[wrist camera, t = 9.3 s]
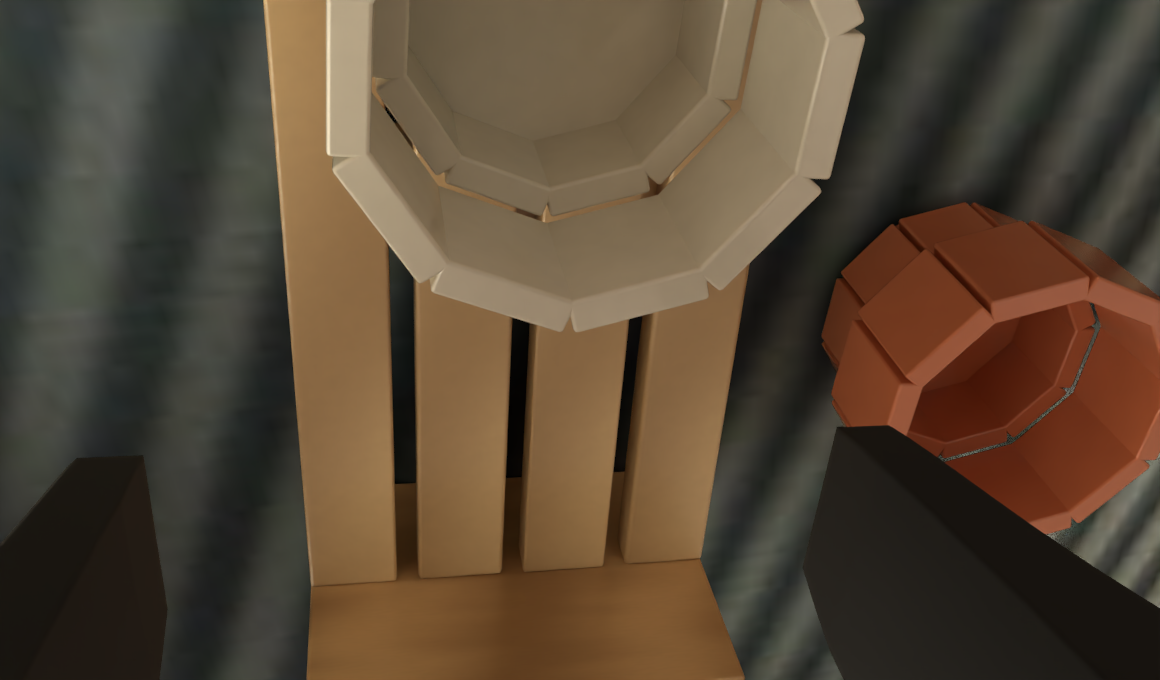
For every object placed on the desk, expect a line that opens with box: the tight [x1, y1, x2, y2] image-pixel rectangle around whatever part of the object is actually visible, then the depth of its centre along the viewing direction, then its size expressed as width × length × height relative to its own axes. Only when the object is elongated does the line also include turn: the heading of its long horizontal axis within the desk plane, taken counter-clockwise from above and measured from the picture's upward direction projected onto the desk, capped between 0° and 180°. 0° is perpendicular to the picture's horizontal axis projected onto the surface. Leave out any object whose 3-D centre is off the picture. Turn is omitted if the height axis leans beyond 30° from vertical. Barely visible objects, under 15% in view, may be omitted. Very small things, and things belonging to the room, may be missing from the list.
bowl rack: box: [263, 0, 762, 680], centre depth 17 cm, size 8×16×6 cm, turn 176°
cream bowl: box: [326, 0, 865, 332], centre depth 14 cm, size 6×6×4 cm
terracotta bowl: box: [821, 202, 1160, 534], centre depth 21 cm, size 6×6×4 cm
